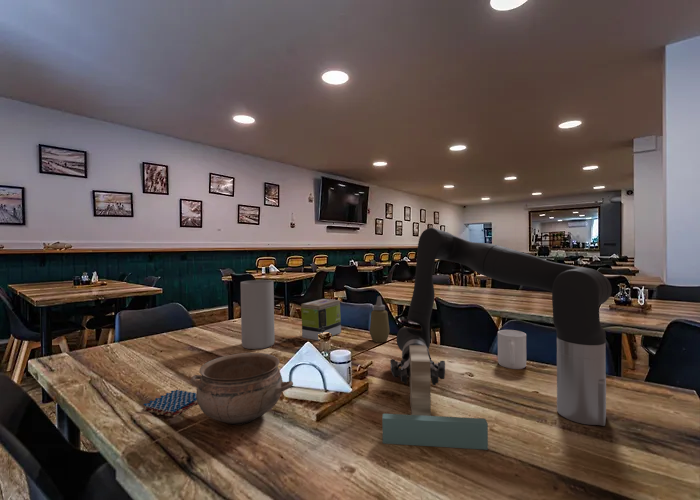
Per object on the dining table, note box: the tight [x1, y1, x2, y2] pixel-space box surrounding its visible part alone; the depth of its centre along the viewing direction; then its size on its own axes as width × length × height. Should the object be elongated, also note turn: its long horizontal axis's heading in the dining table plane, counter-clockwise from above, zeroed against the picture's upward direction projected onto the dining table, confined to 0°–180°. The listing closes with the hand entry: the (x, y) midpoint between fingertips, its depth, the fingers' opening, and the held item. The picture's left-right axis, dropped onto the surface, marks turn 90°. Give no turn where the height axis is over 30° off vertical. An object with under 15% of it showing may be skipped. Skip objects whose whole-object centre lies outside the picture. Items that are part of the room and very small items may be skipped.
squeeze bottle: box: [369, 295, 390, 343], centre depth 142 cm, size 8×8×18 cm
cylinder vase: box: [240, 279, 276, 350], centre depth 139 cm, size 12×12×25 cm
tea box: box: [300, 298, 342, 341], centre depth 152 cm, size 15×10×15 cm, turn 144°
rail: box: [381, 413, 489, 451], centre depth 70 cm, size 20×2×5 cm, turn 82°
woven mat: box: [142, 389, 198, 418], centre depth 88 cm, size 10×11×2 cm
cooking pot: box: [190, 352, 294, 426], centre depth 81 cm, size 25×19×12 cm
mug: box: [497, 329, 527, 370], centre depth 111 cm, size 12×8×10 cm
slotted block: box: [409, 345, 432, 416], centre depth 82 cm, size 12×4×14 cm, turn 172°
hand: (419, 380), depth 80 cm, fingers open, 5 cm apart
